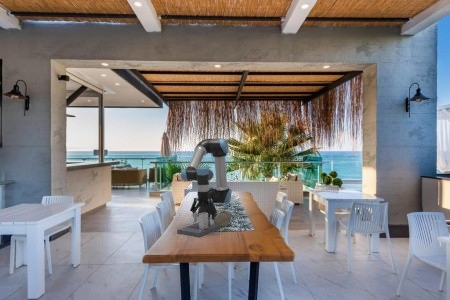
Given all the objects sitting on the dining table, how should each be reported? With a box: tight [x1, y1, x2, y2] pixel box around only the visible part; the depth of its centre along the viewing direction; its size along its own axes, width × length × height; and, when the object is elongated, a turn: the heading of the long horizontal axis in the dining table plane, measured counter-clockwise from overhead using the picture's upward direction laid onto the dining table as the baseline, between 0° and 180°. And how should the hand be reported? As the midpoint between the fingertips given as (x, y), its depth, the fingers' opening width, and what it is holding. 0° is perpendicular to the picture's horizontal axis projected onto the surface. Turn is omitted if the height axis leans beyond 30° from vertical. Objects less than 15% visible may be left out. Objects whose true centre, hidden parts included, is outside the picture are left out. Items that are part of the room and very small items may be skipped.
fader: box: [198, 212, 209, 230], centre depth 217 cm, size 4×6×10 cm, turn 148°
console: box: [176, 220, 221, 238], centre depth 221 cm, size 18×24×5 cm
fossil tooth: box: [213, 209, 232, 228], centre depth 236 cm, size 12×6×15 cm
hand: (203, 223), depth 217 cm, fingers open, 13 cm apart
